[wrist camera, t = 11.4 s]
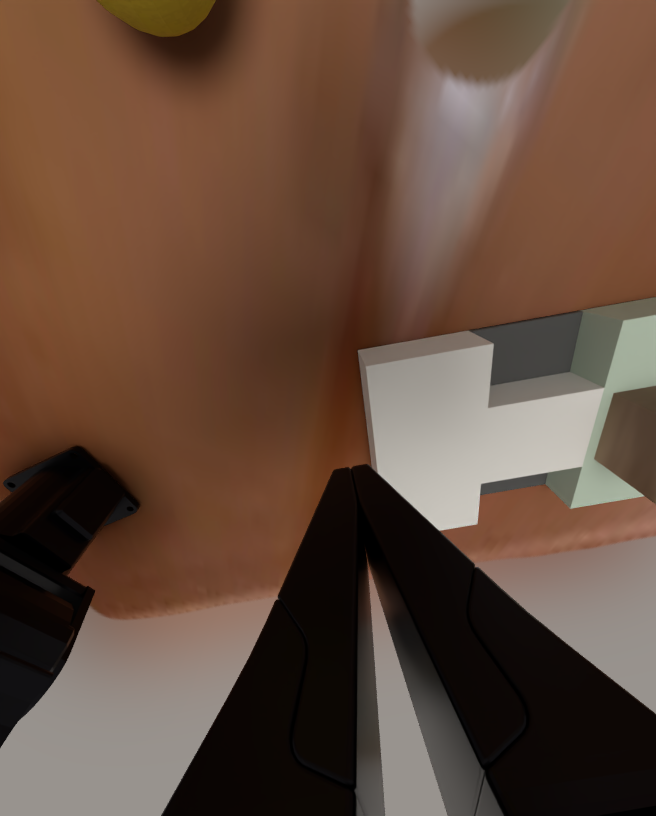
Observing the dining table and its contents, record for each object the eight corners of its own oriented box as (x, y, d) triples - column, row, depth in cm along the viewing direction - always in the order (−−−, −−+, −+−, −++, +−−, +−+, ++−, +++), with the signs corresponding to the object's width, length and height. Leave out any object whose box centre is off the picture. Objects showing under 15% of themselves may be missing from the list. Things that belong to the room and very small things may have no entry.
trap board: (376, 509, 26) (385, 539, 23) (357, 350, 19) (366, 366, 17) (627, 467, 26) (664, 492, 23) (692, 290, 19) (754, 297, 16)
